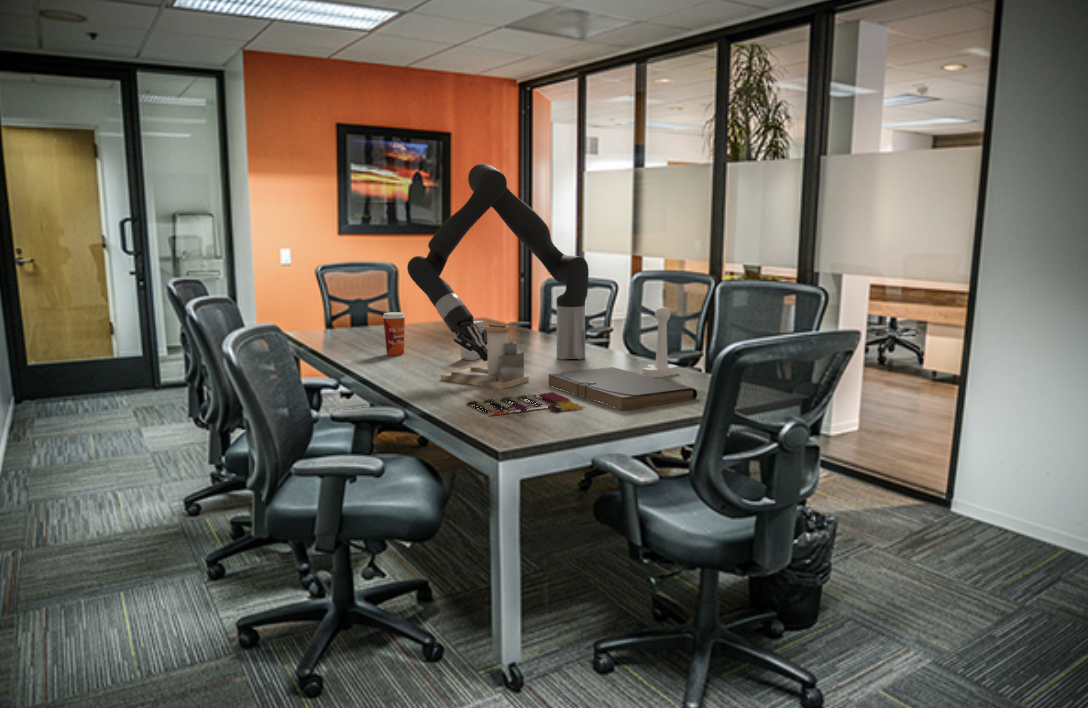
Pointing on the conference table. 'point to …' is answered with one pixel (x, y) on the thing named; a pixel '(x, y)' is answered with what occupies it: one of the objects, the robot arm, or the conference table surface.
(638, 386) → the brown book
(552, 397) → the colourful patterned flat panel
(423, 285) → the robot arm
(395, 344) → the paper cup
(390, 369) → the conference table surface
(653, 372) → the joystick
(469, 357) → the ink box
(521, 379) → the maple mount
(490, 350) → the lidded white jar
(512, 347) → the potentiometer
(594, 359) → the conference table surface
